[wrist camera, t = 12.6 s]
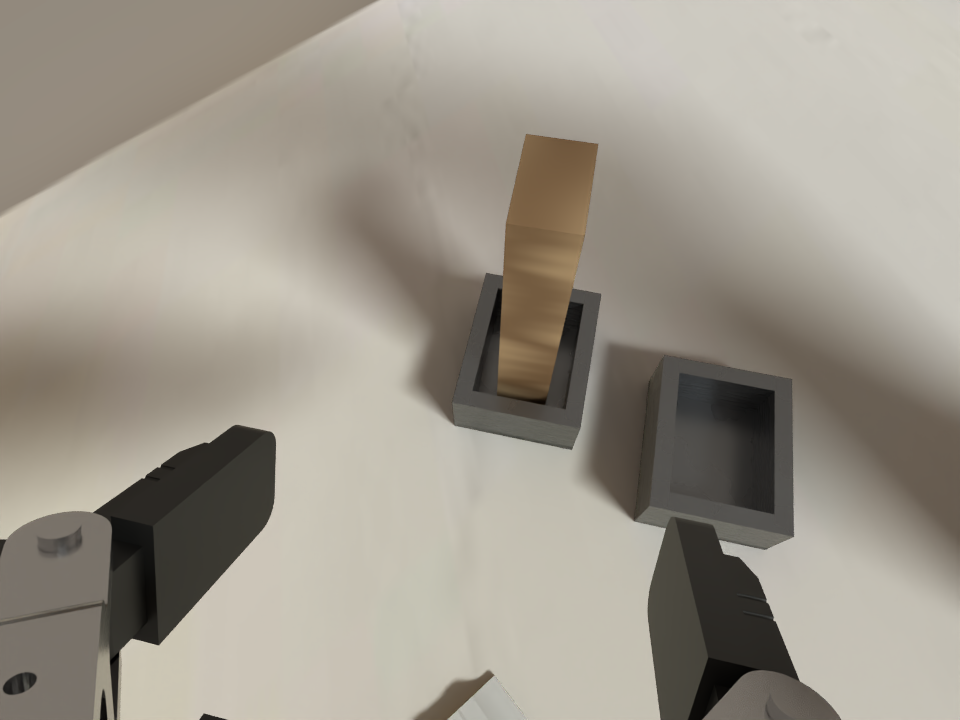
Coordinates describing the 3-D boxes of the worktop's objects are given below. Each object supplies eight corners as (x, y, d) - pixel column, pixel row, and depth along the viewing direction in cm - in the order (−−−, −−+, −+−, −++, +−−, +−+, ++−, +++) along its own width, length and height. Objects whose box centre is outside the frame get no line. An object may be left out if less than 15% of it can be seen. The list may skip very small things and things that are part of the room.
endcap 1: (592, 323, 34) (601, 293, 32) (571, 449, 31) (580, 428, 28) (485, 303, 35) (486, 273, 32) (454, 425, 32) (452, 402, 29)
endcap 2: (765, 403, 32) (791, 379, 29) (764, 550, 29) (793, 536, 26) (649, 381, 33) (664, 355, 30) (634, 521, 29) (649, 506, 27)
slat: (555, 342, 33) (598, 143, 21) (544, 408, 32) (584, 235, 19) (509, 334, 34) (525, 134, 21) (496, 400, 32) (505, 223, 19)
